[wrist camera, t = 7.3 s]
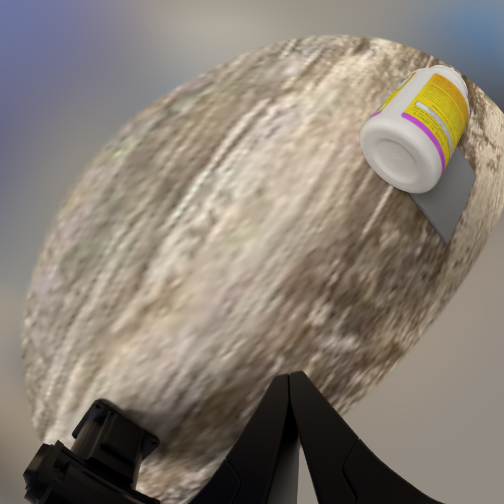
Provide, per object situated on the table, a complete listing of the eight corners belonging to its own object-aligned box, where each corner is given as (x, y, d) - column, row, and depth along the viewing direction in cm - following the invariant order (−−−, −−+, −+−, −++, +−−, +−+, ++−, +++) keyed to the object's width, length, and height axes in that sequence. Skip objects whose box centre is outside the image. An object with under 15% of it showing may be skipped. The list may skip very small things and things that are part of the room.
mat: (444, 243, 22) (447, 243, 22) (361, 139, 20) (363, 138, 20) (473, 176, 23) (476, 176, 22) (404, 83, 21) (406, 82, 20)
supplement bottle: (442, 207, 16) (483, 119, 16) (422, 127, 12) (467, 56, 13) (373, 186, 21) (428, 111, 22) (341, 120, 17) (407, 56, 18)
